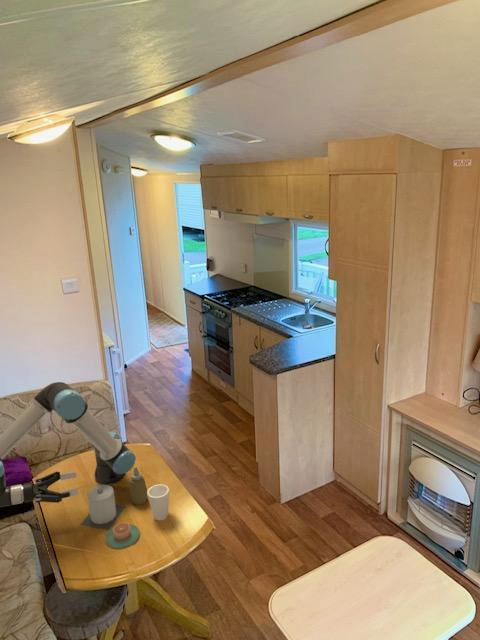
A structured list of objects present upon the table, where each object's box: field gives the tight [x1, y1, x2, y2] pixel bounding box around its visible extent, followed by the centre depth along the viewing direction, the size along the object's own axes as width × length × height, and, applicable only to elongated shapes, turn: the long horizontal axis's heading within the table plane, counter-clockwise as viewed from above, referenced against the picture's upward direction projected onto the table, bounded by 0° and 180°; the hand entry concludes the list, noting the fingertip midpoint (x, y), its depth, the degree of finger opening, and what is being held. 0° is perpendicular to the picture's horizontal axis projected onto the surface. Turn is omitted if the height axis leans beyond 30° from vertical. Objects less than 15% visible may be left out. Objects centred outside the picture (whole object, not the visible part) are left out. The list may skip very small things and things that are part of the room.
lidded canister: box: [87, 484, 116, 524], centre depth 218 cm, size 11×11×14 cm
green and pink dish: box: [104, 521, 141, 550], centre depth 206 cm, size 14×14×5 cm
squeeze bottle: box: [129, 466, 148, 506], centre depth 226 cm, size 8×8×18 cm
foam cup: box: [147, 483, 170, 522], centre depth 217 cm, size 10×9×13 cm
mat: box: [79, 503, 127, 531], centre depth 220 cm, size 16×14×1 cm
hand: (77, 482), depth 211 cm, fingers open, 13 cm apart
